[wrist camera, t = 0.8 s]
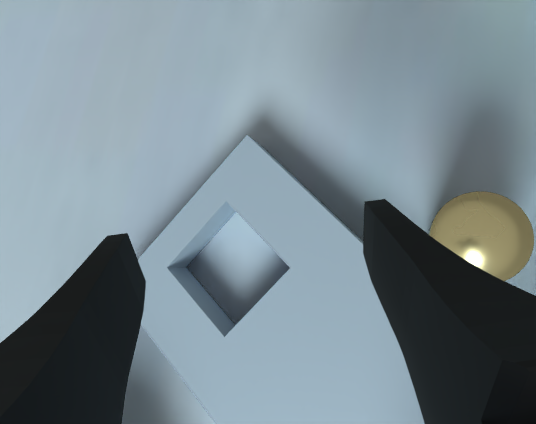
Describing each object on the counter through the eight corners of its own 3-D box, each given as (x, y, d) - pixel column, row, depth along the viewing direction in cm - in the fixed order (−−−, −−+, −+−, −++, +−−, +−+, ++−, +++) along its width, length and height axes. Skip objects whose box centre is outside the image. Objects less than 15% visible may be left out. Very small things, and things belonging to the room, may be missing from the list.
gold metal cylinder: (524, 242, 24) (557, 236, 18) (468, 295, 24) (484, 304, 19) (463, 193, 25) (476, 172, 20) (412, 244, 26) (410, 239, 20)
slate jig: (532, 401, 23) (545, 417, 20) (350, 561, 25) (343, 592, 22) (260, 144, 30) (246, 134, 27) (135, 286, 32) (112, 288, 29)
